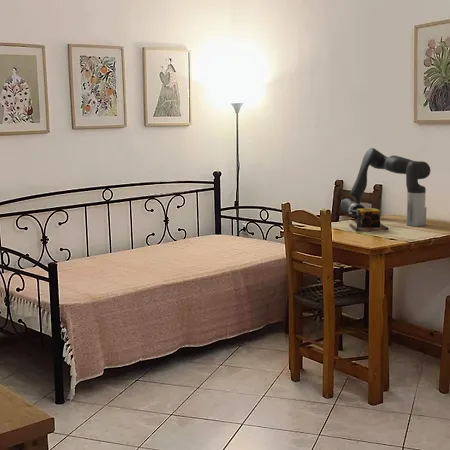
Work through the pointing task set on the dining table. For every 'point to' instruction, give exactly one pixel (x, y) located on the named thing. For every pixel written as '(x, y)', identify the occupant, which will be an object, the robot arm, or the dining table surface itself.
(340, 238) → the dining table surface
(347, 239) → the dining table surface
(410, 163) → the robot arm
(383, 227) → the walnut frame
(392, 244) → the dining table surface
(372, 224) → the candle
